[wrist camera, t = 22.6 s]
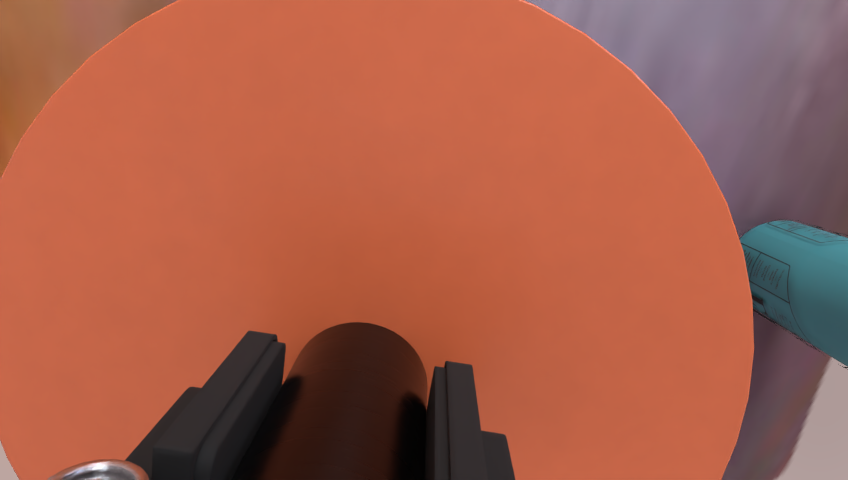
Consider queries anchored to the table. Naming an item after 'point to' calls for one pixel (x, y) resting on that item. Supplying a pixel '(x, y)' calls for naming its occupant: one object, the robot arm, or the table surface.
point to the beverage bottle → (801, 282)
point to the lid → (371, 244)
